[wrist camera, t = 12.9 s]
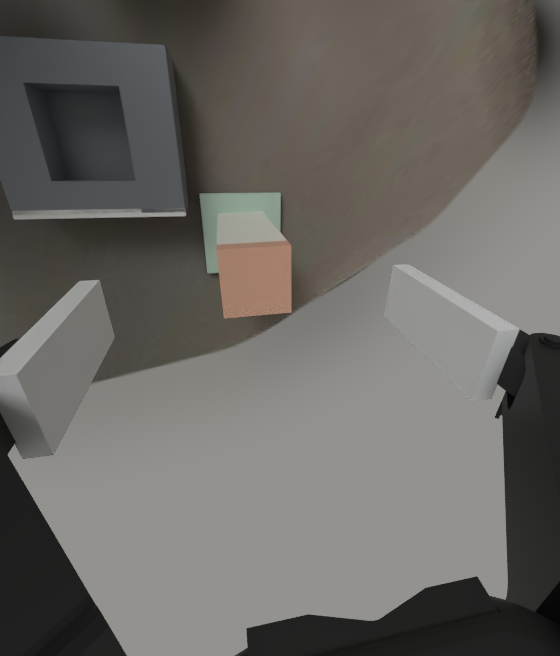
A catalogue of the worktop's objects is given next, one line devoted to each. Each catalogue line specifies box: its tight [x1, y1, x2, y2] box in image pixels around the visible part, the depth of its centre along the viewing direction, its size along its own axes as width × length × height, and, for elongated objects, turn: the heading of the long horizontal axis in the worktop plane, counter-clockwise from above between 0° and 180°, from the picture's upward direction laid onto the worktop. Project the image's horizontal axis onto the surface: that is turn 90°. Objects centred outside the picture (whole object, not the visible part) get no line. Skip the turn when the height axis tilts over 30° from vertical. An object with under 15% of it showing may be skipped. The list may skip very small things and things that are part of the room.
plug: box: [216, 211, 291, 318], centre depth 24 cm, size 4×4×13 cm
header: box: [0, 36, 189, 220], centre depth 24 cm, size 12×10×4 cm
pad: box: [200, 192, 281, 273], centre depth 30 cm, size 7×7×1 cm
